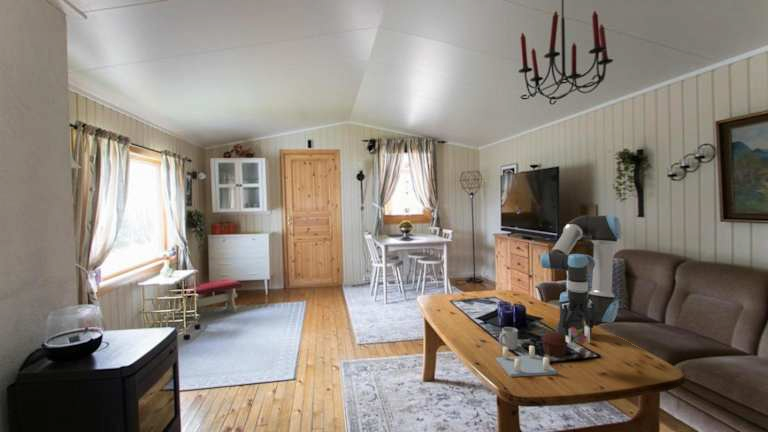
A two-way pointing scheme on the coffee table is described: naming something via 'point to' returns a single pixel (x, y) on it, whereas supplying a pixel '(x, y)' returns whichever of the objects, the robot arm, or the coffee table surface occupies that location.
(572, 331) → the geometric puzzle
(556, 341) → the muffin
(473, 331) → the coffee table surface
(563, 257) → the robot arm
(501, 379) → the coffee table surface
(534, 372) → the peg board
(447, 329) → the coffee table surface
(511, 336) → the cup
